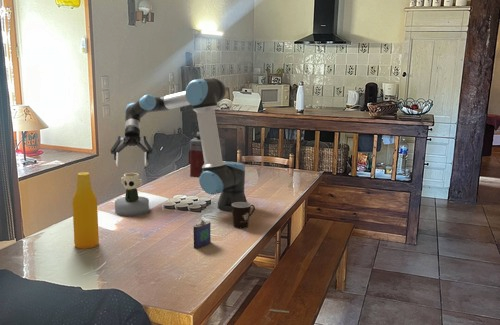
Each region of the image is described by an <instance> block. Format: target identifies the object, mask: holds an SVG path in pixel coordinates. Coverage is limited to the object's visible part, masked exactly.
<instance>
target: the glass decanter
mask: <svg viewBox="0 0 500 325" xmlns="http://www.w3.org/2000/svg"><path fill="white" fill-rule="evenodd" d="M195 136H196V137H194V138H191V140H190V141H189V143H190V144H189V145H190V147H189V150H188V165H189V168H190V169H189V177H191V178H199V177H200V175H201V174H202V173H203V171H202V166H203V165H204V156H203V150H202V144H201V137H200V131H196V135H195Z"/></svg>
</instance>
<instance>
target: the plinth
mask: <svg viewBox="0 0 500 325" xmlns="http://www.w3.org/2000/svg"><path fill="white" fill-rule="evenodd" d="M138 198H139V199H138V200H136V201H130V200H128V201H126V200H125V196H123V197H120V198H116V199H115V200H114V213H115V214H117V215H119V216H123V217H135V216H141V215H144V214H145V215H146V214H147V213H149V211H150V200H149V198H147V197H145V196H139V195H138Z"/></svg>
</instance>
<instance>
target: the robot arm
mask: <svg viewBox="0 0 500 325" xmlns="http://www.w3.org/2000/svg"><path fill="white" fill-rule="evenodd" d="M185 87H186V88H185V90H183V91H179V92H175V93H171V94H167V95H163V96H156V97H154V96H153V95H152V94H145V95H143V96H142V97H141V98H139V99H138V100H137V101H136V102H131V103H127V105H126V108H125V122H124V137H121V136H120V135H118V136H117V140H116V141H115V143H114V144H113V145H112V147H111V148H110V154H111V155H113V159H114V161H115V166H116V167H119V154H120V152H122V151H123V150H124V149H125V148H127V147H128V146H129V147H135V146H137V147H138V148H139V149H140V150H141V151H142V152H143V153H144V162H143V163H144V167H147V160H149V158H150V154H153V149H152V147H151V145H150V144H149V142H148V140H147V136H146V135H143V137H141V119H142V118H143V117H144V116H145V115H147V114H148V113H157V112H163V111H164V112H166V111H167V112H168V111H170V110H173V109H177V108H181V107H186V106H190V105H191V107H192V111H193V112H195V113H196V119H197V123H198V125H197V126H198V130H199V131H198V132H200V137H201V144H202V150H203V156H204V165H203V166H202V171H203V173H202V174H201V175H200V177H198V178H199V179H198V183H199V186H200V188H201V189H202V190H203V192H205V193H206V194H208V195H219V194H220V195H219V197H218V201H217V209H219V210H221V211H224V212H225V211H226V212H232V203H235V202H247V203H248V200H247V196H246V194H245V185H246V184H245V183H246V182H245V180H246V179H245V178H246V167H245V164H244V163H243V162H237V161H224V160H223V154H222V149H221V142H220V137H219V136H220V135H219V130H218V128H219V127H218V123H217V117H216V109H217V107H218V103H219V102H221V101H223V99H225V96H226V93H227V89H226V85H225V84H224V83H223V81H221V80H220V79H218V78H197V79H196V78H195V79H192V80H191V81H189V82H188V84H187V86H185ZM142 143H143V144H144V145H143V144H142Z"/></svg>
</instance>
